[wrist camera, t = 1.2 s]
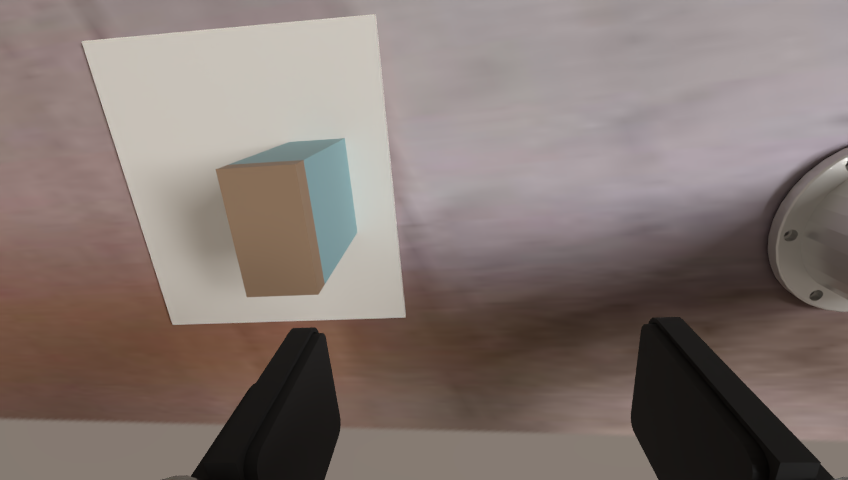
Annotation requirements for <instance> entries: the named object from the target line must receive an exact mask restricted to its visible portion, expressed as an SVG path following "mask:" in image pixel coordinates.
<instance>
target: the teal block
mask: <svg viewBox="0 0 848 480" xmlns="http://www.w3.org/2000/svg"><path fill="white" fill-rule="evenodd" d="M215 170H216V174H217V178H218V182H219V186H220V190H221V194H222V198H223V202H224V206H225V210H226V215H227V219H228V223H229V227H230V231H231V235H232V239H233V243H234V247H235V251H236V255H237V259H238V264H239V268H240V272H241V276H242V280H243V284H244V288H245V292H246V296H247V297H268V296H296V295H319V293H320V291H321V290H322V288H323V287H324V285H325V283H326V282H327V280H328V279H329V277H330V275H331V274H332V272H333V271H334V269H335V268H336V266H337V264H338V263H339V261H340V260H341V258H342V256H343V255H344V253H345V252H346V250H347V248H348V247H349V245H350V244H351V242H352V240H353V239H354V237H355V236H356V234H357V225H356V218H355V210H354V203H353V196H352V188H351V181H350V173H349V166H348V158H347V151H346V144H345V138H341V139H326V140H311V141H296V142H288V143H285V144H283V145H280V146H277V147H274V148H272V149H269V150H266V151H264V152H261V153H258V154H256V155H253V156H250V157H247V158H245V159H242V160H239V161H237V162H234V163H231V164H229V165H226V166H223V167H220V168H218V169H215Z"/></svg>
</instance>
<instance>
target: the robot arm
mask: <svg viewBox="0 0 848 480" xmlns="http://www.w3.org/2000/svg"><path fill="white" fill-rule="evenodd" d="M768 256H769V262H770V266H771V268H772V270H773V273H774V275H775V277H776V279H777V280H778V281H779V282H780V283H781V285H782V286H783V287H784V288H785V289H786V290H787V291H789V292H790V293H791V294H793V295H794V296H795V297H797V298H799V299H800V300H802V301H804V302H805V303H807V304H809V305H812V306H815V307H818V308H821V309H824V310H830V311H837V312H848V147H847V148H845V149H842V150H841V151H839V152H837V153H835V154H834V155H832V156H830V157H828V158H826V159H825V160H823V161H822V162H820V163H819V164H818V165H817V166H815V167H814V168H813V169H811V170H810V171H809V172H808V173H806V174H805V175H804V176H803V177H802V178H801V179H800V180H799V181H798V183H797V184H796V185H795V186H794V187H793V188H792V189H791V190H790V192H789V193H788V195H787V196H786V197H785V199H784V200H783V202H782V203H781V205H780V207H779V209H778V211H777V213H776V215H775V217H774V219H773V222H772V225H771V229H770V233H769V237H768ZM631 423H632V428H633V431H634V433H635V435H636V437H637V439H638V441H639V443H640V445H641V447H642V448H643V450H644V452H645V454H646V456H647V458H648V460H649V462H650V464H651V466H652V468H653V470H654V471H655V474H656V476H657V478H658V479H659V480H848V477H841V478H838V479H834V478H833V477H832V476H831V475H830V474H829V473H828V472H827V471H826V470H825V468H824V467H823V466H822V465H821V464H820V463H821V462H820V461H819V460H818V459H817V458H816V457H815V456H814V455H813V454H812V453H811V452H810V451H809V450H808V449H807V448H806V447H805V446H804V445H803V444H802V443H801V442H800V441H799V440H798V439H797V437H796V436H795V435H794V434H793V433H792V432H791V431H790V430H789V429H788V428H787V427H786V426H785V425H784V424H783V423H782V422H781V421H780V420H779V419H778V418H777V417H776V416H775V415H774V414H773V413H772V412H771V411H770V410H769V408H768V407H767V406H766V405H765V404H764V403H763V402H762V401H761V400H760V399H759V398H758V397H757V396H756V395H755V394H754V393H753V392H752V391H751V390H750V389H749V388H748V387H747V386H746V385H745V384H744V383H743V382H742V381H741V379H740V378H739V377H738V376H737V375H736V374H735V373H734V372H733V371H732V370H731V369H730V368H729V367H728V366H727V365H726V364H725V363H724V362H723V361H722V360H721V359H720V358H719V357H718V356H717V355H716V354H715V353H714V352H713V350H712V349H711V348H710V347H709V346H708V345H707V344H706V343H705V342H704V341H703V340H702V339H701V338H700V337H699V336H698V335H697V334H696V333H695V332H694V331H693V330H692V329H691V328H690V327H689V326H688V325H687V324H686V323H685V321H684V320H683V319H681V318H680V317H662V318H652V319H651V320H650V321H649V324H644V325H643V326H642V329H641V335H640V344H639V352H638V360H637V368H636V377H635V385H634V393H633V401H632V410H631ZM339 432H340V414H339V408H338V403H337V397H336V392H335V386H334V381H333V375H332V369H331V364H330V358H329V353H328V347H327V342H326V337H325V335H324V334H323V333H318V330H317V329H316V328H293V329H291V331H290V332H289V333H288V335H287V336H286V338H285V340H284V341H283V343H282V344H281V346H280V347H279V349H278V350H277V352H276V353H275V355H274V356H273V358H272V359H271V361H270V362H269V364H268V365H267V367H266V368H265V370H264V372H263V373H262V375H261V376H260V378H259V379H258V381H257V382H256V383H255V384H253V385H252V386H251V387H250V388H249V390H248V391H247V393H246V394H245V396H244V397H243V399H242V400H241V402H240V403H239V405H238V406H237V408H236V409H235V411H234V412H233V414H232V415H231V417H230V418H229V420H228V421H227V423H226V424H225V426H224V427H223V429H222V430H221V432H220V433H219V435H218V436H217V438H216V439H215V441H214V442H213V444H212V445H211V447H210V448H209V450H208V451H207V453H206V454H205V456H204V457H203V459H202V460H201V462H200V463H199V465H198V466H197V468H196V469H195V471H194V472H193V474H192V475H191V477H190V476H173V477H169V478H166V479H162V480H324V479H325V476H326V473H327V470H328V467H329V464H330V461H331V458H332V455H333V452H334V448H335V445H336V442H337V439H338V436H339Z"/></svg>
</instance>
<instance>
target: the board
mask: <svg viewBox="0 0 848 480" xmlns="http://www.w3.org/2000/svg"><path fill="white" fill-rule="evenodd" d="M82 45H83V48H84V51H85V54H86V57H87V60H88V63H89V66H90V69H91V73H92V76H93V79H94V82H95V85H96V88H97V91H98V94H99V97H100V101H101V104H102V107H103V110H104V113H105V116H106V119H107V122H108V125H109V129H110V132H111V135H112V138H113V141H114V144H115V147H116V150H117V153H118V157H119V160H120V163H121V166H122V169H123V172H124V175H125V178H126V181H127V185H128V188H129V191H130V194H131V197H132V200H133V203H134V206H135V209H136V213H137V216H138V219H139V222H140V225H141V228H142V231H143V234H144V237H145V241H146V244H147V247H148V250H149V253H150V256H151V259H152V262H153V265H154V269H155V272H156V275H157V278H158V281H159V284H160V287H161V290H162V293H163V297H164V300H165V303H166V306H167V309H168V312H169V315H170V318H171V321H172V325H183V324H215V323H247V322H279V321H311V320H343V319H375V318H405V317H406V311H405V301H404V291H403V281H402V271H401V261H400V251H399V241H398V230H397V220H396V210H395V200H394V190H393V180H392V170H391V160H390V150H389V140H388V130H387V120H386V110H385V100H384V90H383V80H382V70H381V60H380V50H379V40H378V30H377V20H376V15H375V14H372V15H361V16H351V17H340V18H329V19H318V20H307V21H296V22H285V23H274V24H263V25H253V26H242V27H231V28H220V29H209V30H198V31H187V32H176V33H165V34H154V35H144V36H133V37H122V38H111V39H100V40H89V41H82ZM341 138H345V144H346V151H347V158H348V166H349V173H350V181H351V188H352V196H353V203H354V210H355V218H356V225H357V234H356V236H355V237H354V239H353V240H352V242H351V244H350V245H349V247H348V248H347V250H346V252H345V253H344V255H343V256H342V258H341V260H340V261H339V263H338V264H337V266H336V268H335V269H334V271H333V272H332V274H331V275H330V277H329V279H328V280H327V282H326V283H325V285H324V287H323V288H322V290H321V291H320V293H319V295H296V296H268V297H247V296H246V292H245V288H244V284H243V280H242V276H241V272H240V268H239V264H238V259H237V255H236V251H235V247H234V243H233V239H232V235H231V231H230V227H229V223H228V219H227V215H226V210H225V206H224V202H223V198H222V194H221V190H220V186H219V182H218V178H217V174H216V170H215V169H218V168H220V167H223V166H226V165H229V164H231V163H234V162H237V161H239V160H242V159H245V158H247V157H250V156H253V155H256V154H258V153H261V152H264V151H266V150H269V149H272V148H274V147H277V146H280V145H283V144H285V143H288V142H296V141H311V140H326V139H341Z"/></svg>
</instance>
